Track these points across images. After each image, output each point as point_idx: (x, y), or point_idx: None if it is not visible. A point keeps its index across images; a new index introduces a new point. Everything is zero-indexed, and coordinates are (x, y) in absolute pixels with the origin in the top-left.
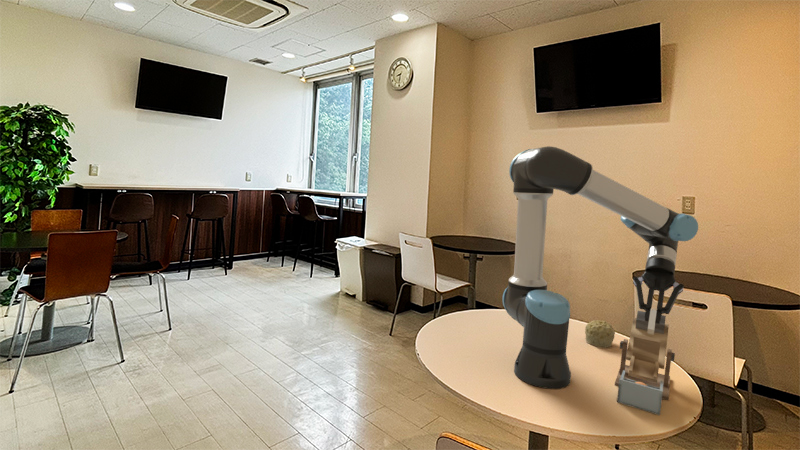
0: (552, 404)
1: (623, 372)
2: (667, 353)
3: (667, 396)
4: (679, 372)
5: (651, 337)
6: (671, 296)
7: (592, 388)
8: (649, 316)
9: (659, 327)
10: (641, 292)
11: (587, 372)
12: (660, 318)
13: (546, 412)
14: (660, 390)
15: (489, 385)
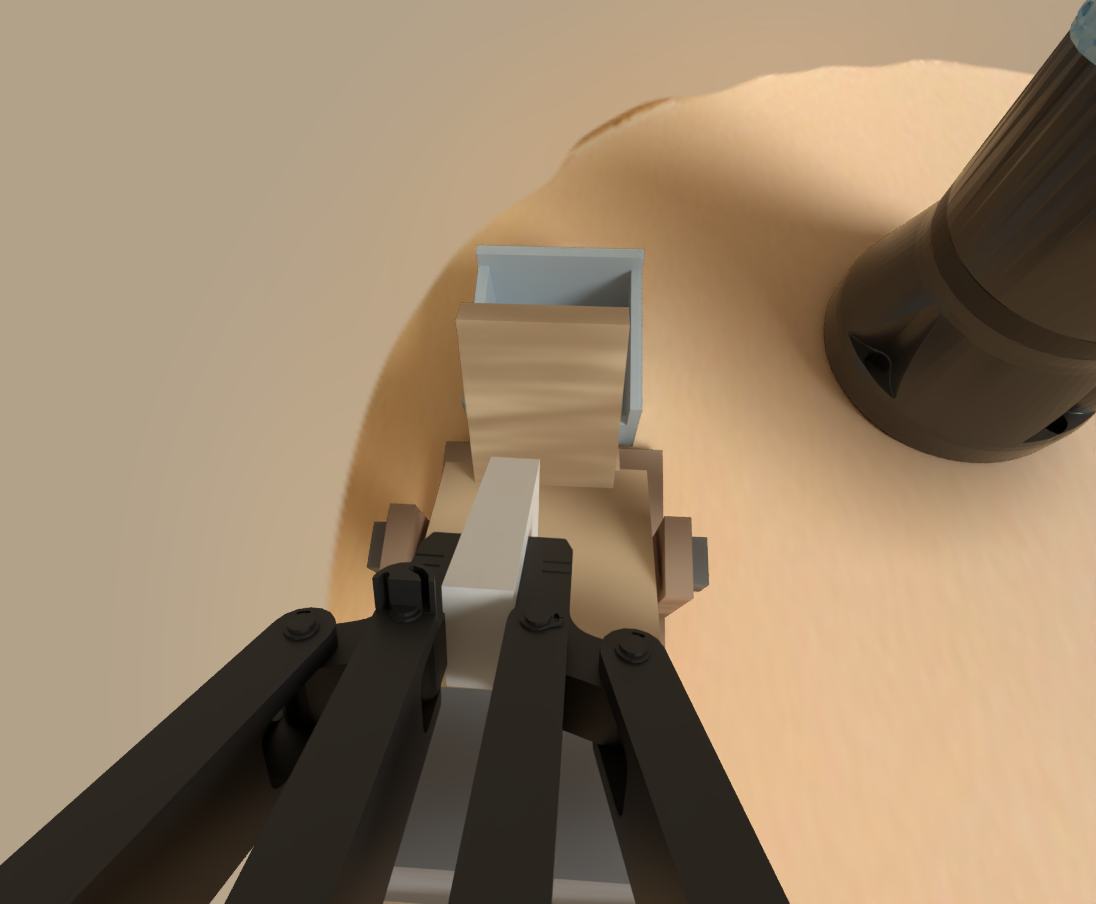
0: (818, 173)
1: (637, 384)
2: (416, 506)
3: (450, 450)
4: None
5: (514, 321)
6: (114, 830)
7: (735, 366)
8: (526, 528)
9: None
10: (689, 850)
11: (797, 519)
12: (418, 551)
13: (814, 124)
14: (484, 249)
15: None
